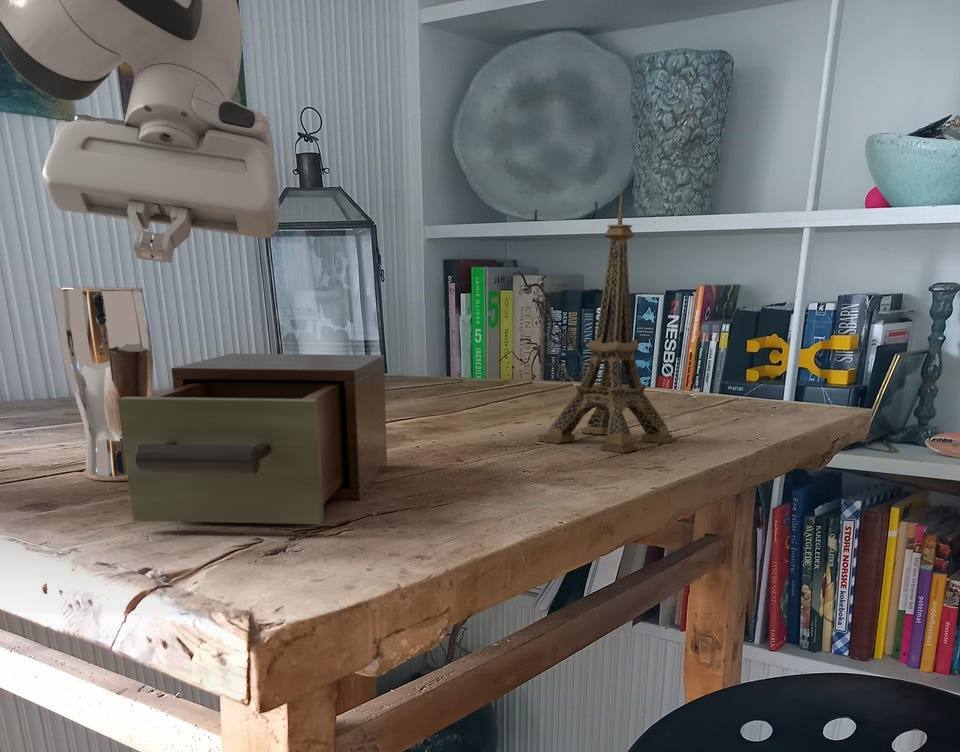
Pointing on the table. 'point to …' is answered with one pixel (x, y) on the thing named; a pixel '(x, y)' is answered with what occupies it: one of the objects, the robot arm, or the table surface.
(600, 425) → the eiffel tower
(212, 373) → the cabinet
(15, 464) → the table surface
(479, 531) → the table surface
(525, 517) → the table surface
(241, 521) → the drawer
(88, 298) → the beer glass
